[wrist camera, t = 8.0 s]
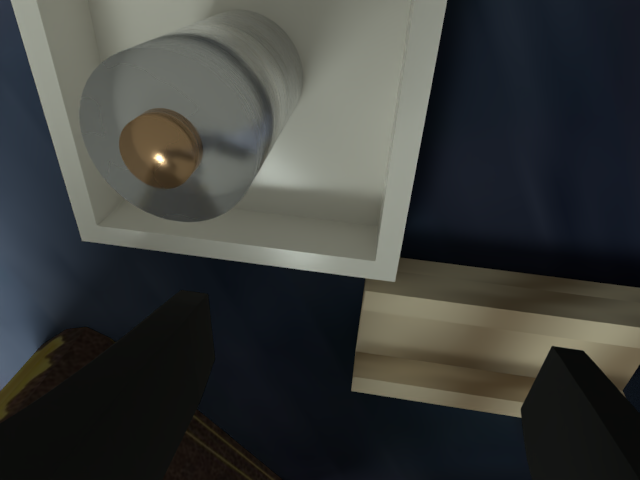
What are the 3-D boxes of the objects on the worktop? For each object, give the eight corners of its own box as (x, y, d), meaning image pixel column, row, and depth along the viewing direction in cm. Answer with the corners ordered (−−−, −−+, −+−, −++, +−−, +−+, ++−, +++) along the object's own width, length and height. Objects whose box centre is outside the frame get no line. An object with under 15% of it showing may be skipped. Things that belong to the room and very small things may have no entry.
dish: (460, -139, 12) (476, -161, 9) (395, 237, 19) (395, 282, 16) (41, -158, 13) (-43, -181, 11) (122, 203, 20) (81, 240, 17)
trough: (664, 290, 18) (698, 335, 16) (604, 386, 21) (626, 433, 19) (368, 253, 19) (365, 290, 17) (355, 350, 23) (351, 390, 21)
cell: (305, 15, 14) (246, 63, 8) (300, 138, 16) (251, 245, 10) (181, 4, 14) (39, 43, 8) (193, 126, 16) (86, 224, 11)
